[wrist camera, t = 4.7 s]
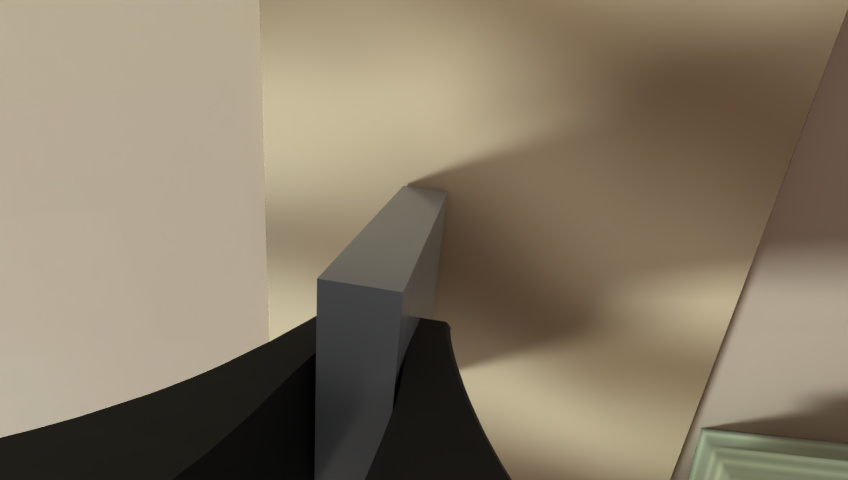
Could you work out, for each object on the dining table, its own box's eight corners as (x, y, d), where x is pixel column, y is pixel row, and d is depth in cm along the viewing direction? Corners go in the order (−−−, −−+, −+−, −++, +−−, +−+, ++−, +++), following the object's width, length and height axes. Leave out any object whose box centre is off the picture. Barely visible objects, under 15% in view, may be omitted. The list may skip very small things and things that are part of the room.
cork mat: (633, 554, 15) (637, 566, 15) (278, 480, 16) (273, 489, 16) (855, -47, 9) (870, -53, 9) (265, -83, 10) (257, -90, 10)
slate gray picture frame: (425, 379, 13) (376, 588, 8) (385, 372, 14) (309, 571, 8) (447, 191, 11) (403, 292, 6) (400, 185, 11) (311, 278, 6)
